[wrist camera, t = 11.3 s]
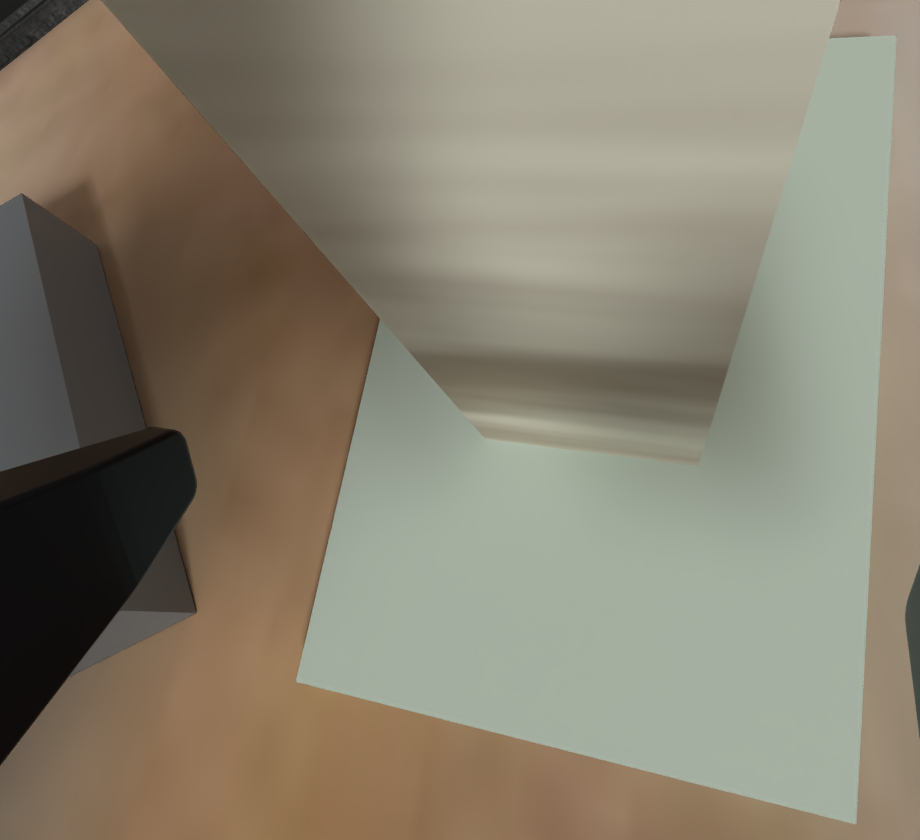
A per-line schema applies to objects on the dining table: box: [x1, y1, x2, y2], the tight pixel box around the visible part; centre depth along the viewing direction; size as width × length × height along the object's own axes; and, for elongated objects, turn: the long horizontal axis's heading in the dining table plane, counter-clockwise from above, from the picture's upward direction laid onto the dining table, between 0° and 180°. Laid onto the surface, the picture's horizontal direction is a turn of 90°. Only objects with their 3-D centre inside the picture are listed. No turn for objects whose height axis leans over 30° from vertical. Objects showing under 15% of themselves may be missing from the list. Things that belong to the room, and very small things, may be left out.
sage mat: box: [296, 36, 897, 824], centre depth 17 cm, size 18×12×1 cm, turn 169°
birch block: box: [101, 0, 841, 466], centre depth 11 cm, size 5×5×13 cm
